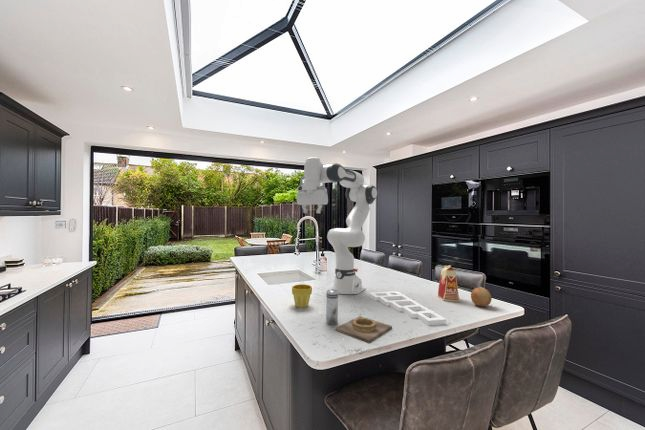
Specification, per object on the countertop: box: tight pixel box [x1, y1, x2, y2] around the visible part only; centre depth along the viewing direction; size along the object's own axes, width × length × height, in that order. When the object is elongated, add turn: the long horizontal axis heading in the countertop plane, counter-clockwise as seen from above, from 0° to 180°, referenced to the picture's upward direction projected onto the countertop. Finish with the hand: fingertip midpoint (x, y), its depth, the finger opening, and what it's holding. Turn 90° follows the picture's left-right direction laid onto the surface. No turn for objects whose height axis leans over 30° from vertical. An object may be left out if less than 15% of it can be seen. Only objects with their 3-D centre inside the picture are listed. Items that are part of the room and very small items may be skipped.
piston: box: [325, 288, 339, 326], centre depth 121 cm, size 5×5×14 cm
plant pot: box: [291, 283, 313, 308], centre depth 143 cm, size 10×10×10 cm
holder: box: [368, 290, 447, 326], centre depth 142 cm, size 45×18×3 cm, turn 13°
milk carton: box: [437, 264, 461, 302], centre depth 159 cm, size 9×9×20 cm
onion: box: [470, 286, 492, 308], centre depth 147 cm, size 10×10×10 cm
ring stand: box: [334, 316, 393, 344], centre depth 115 cm, size 18×16×3 cm
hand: (311, 213), depth 148 cm, fingers open, 8 cm apart
